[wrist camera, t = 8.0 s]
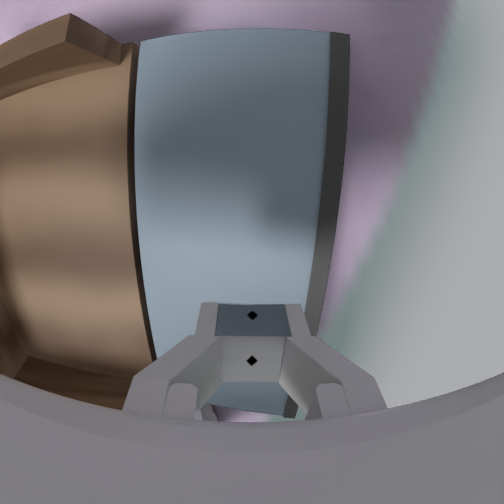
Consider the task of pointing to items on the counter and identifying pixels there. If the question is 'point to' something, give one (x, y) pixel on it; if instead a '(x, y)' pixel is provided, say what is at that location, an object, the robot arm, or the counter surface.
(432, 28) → the counter surface
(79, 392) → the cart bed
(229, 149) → the panel
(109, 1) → the counter surface
